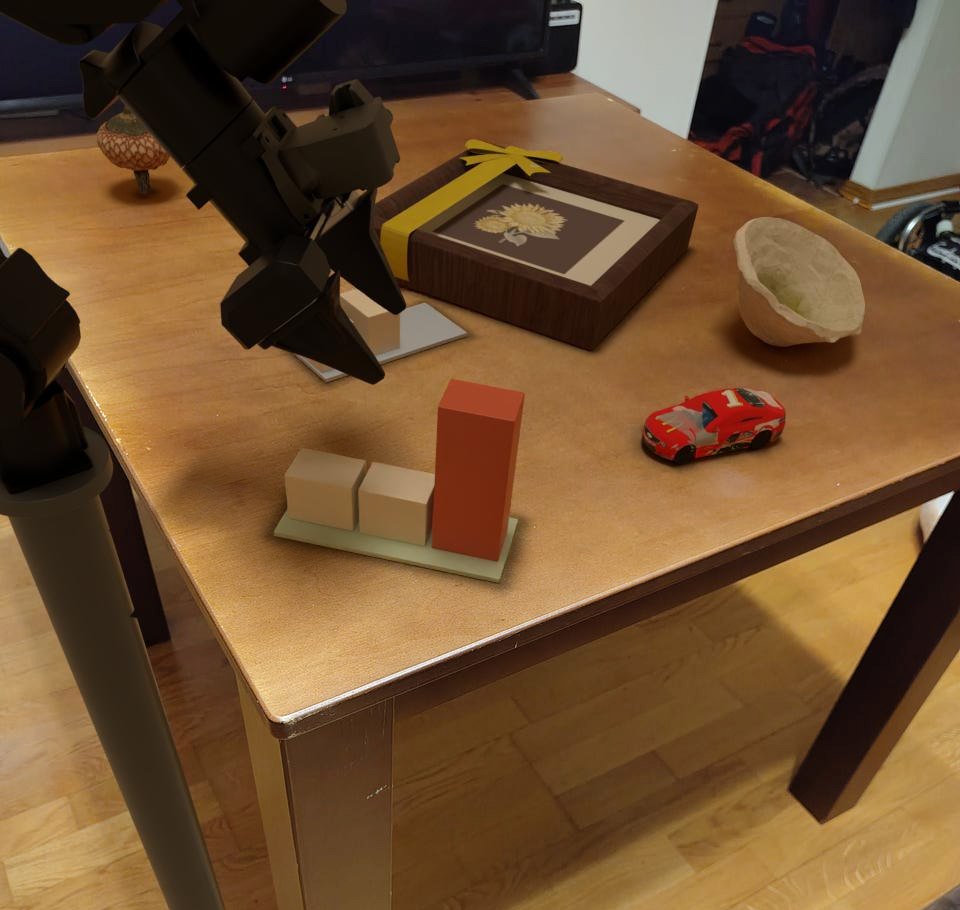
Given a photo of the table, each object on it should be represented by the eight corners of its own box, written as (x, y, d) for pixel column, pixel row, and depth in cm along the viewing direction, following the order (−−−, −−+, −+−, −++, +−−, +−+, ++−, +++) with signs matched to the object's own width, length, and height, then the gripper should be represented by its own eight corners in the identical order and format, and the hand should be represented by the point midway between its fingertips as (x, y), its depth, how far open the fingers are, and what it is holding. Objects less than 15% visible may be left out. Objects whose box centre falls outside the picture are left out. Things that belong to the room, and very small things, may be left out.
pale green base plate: (273, 535, 65) (267, 488, 62) (307, 479, 70) (303, 432, 67) (499, 583, 64) (505, 536, 60) (517, 522, 68) (524, 476, 65)
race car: (657, 471, 74) (668, 430, 71) (627, 434, 78) (637, 394, 75) (789, 446, 78) (804, 407, 75) (755, 412, 81) (769, 373, 78)
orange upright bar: (431, 548, 65) (437, 406, 56) (443, 518, 67) (451, 378, 59) (497, 562, 65) (514, 421, 56) (507, 531, 67) (525, 392, 58)
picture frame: (345, 206, 89) (486, 126, 107) (347, 271, 94) (482, 183, 112) (601, 290, 81) (706, 188, 100) (589, 355, 86) (691, 246, 105)
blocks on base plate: (325, 382, 79) (323, 337, 76) (286, 348, 83) (281, 303, 80) (467, 336, 87) (470, 293, 84) (425, 305, 90) (426, 263, 87)
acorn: (149, 174, 107) (132, 79, 100) (198, 194, 104) (183, 98, 97) (93, 193, 102) (70, 95, 95) (142, 214, 99) (122, 116, 92)
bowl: (805, 394, 84) (845, 293, 77) (682, 336, 90) (708, 236, 83) (875, 342, 92) (917, 245, 85) (758, 291, 98) (788, 197, 91)
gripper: (273, 96, 41) (473, 355, 50) (350, -2, 54) (499, 218, 62) (126, 233, 46) (329, 445, 55) (227, 114, 59) (380, 302, 68)
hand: (391, 343), depth 60 cm, fingers open, 9 cm apart
